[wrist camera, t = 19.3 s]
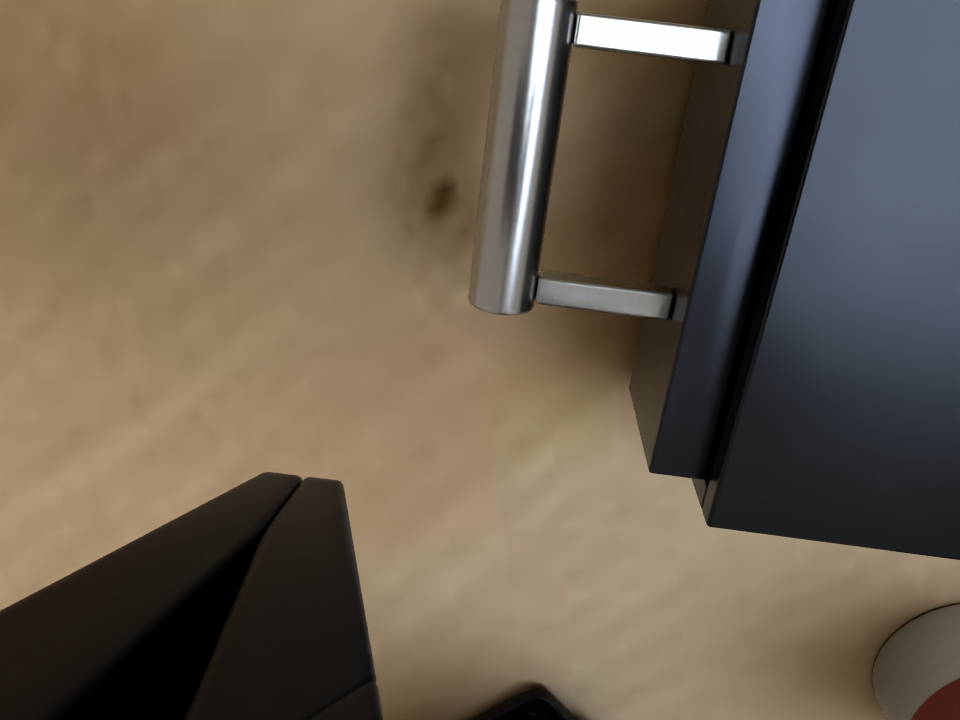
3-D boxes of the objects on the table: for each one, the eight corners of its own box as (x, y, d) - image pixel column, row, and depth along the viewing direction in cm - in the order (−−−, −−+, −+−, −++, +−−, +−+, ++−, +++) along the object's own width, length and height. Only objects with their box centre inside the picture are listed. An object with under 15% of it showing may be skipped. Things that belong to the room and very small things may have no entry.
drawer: (465, 367, 20) (448, 447, 17) (524, -159, 16) (519, -214, 12) (1113, 451, 20) (1246, 552, 16) (1371, -61, 15) (1639, -85, 12)
